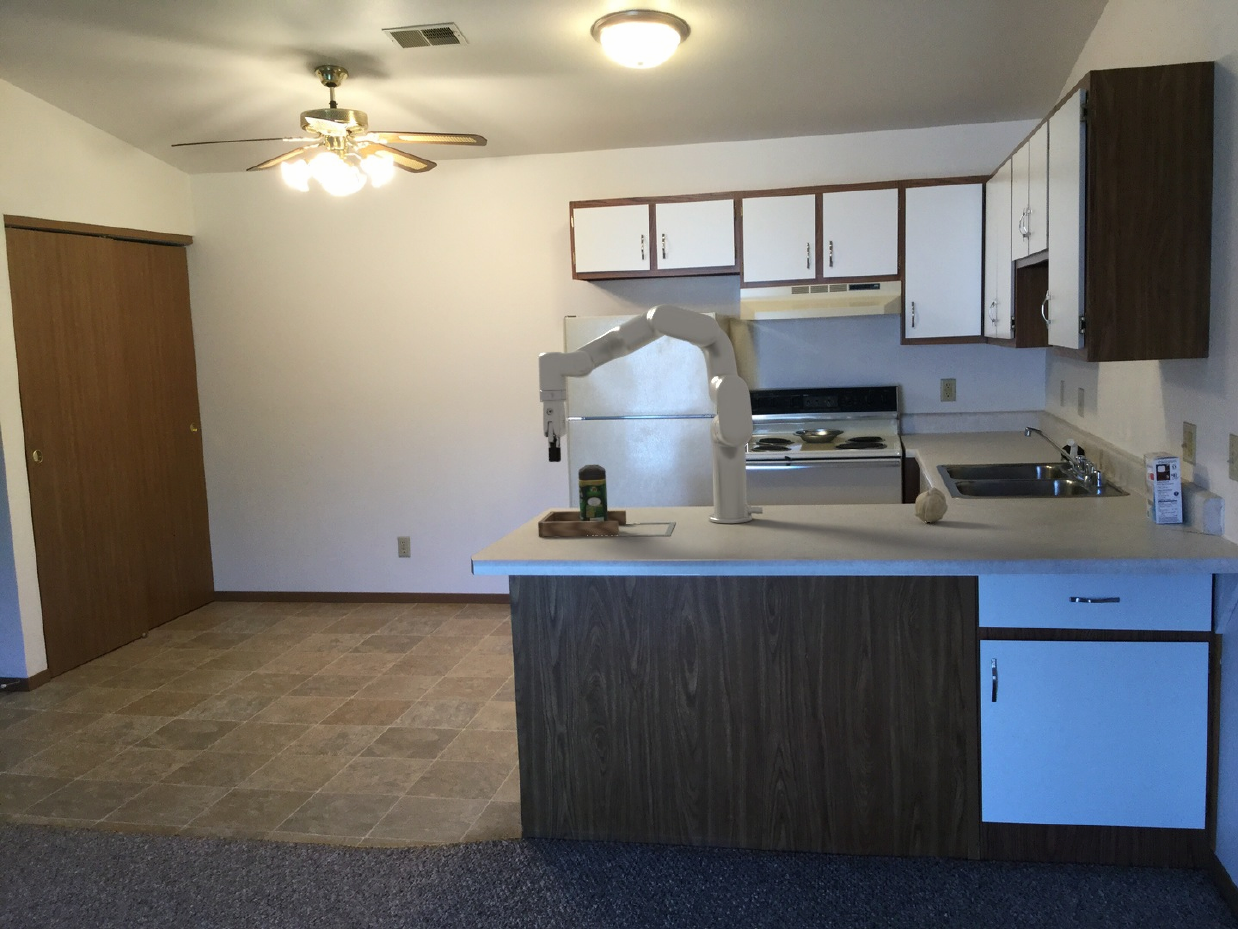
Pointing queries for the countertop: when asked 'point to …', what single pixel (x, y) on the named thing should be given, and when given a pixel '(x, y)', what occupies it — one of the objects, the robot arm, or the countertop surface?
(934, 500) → the garlic bulb
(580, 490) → the coffee jar
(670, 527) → the grey bay
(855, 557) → the countertop surface
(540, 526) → the wooden u-shaped frame
